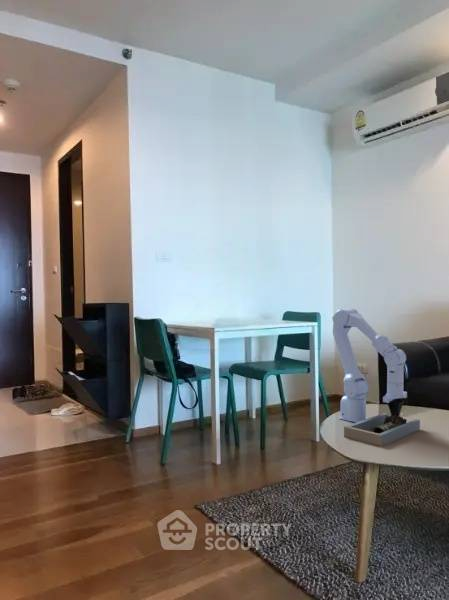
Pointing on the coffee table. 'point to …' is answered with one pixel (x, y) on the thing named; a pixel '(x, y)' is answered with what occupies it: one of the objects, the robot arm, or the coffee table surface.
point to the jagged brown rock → (389, 424)
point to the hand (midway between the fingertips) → (395, 419)
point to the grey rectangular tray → (361, 433)
